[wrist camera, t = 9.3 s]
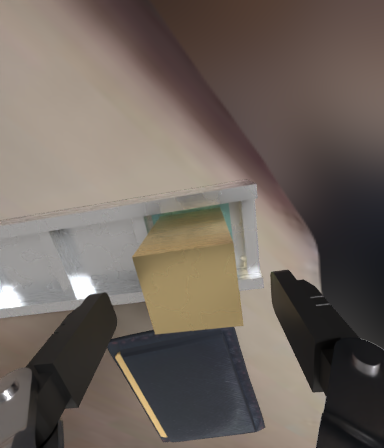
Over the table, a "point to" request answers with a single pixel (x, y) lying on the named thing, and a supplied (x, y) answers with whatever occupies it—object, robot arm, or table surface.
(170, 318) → the tan block
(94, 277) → the tray with compartments
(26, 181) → the table surface
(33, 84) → the table surface
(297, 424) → the table surface
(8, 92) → the table surface
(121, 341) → the dark blue notebook
